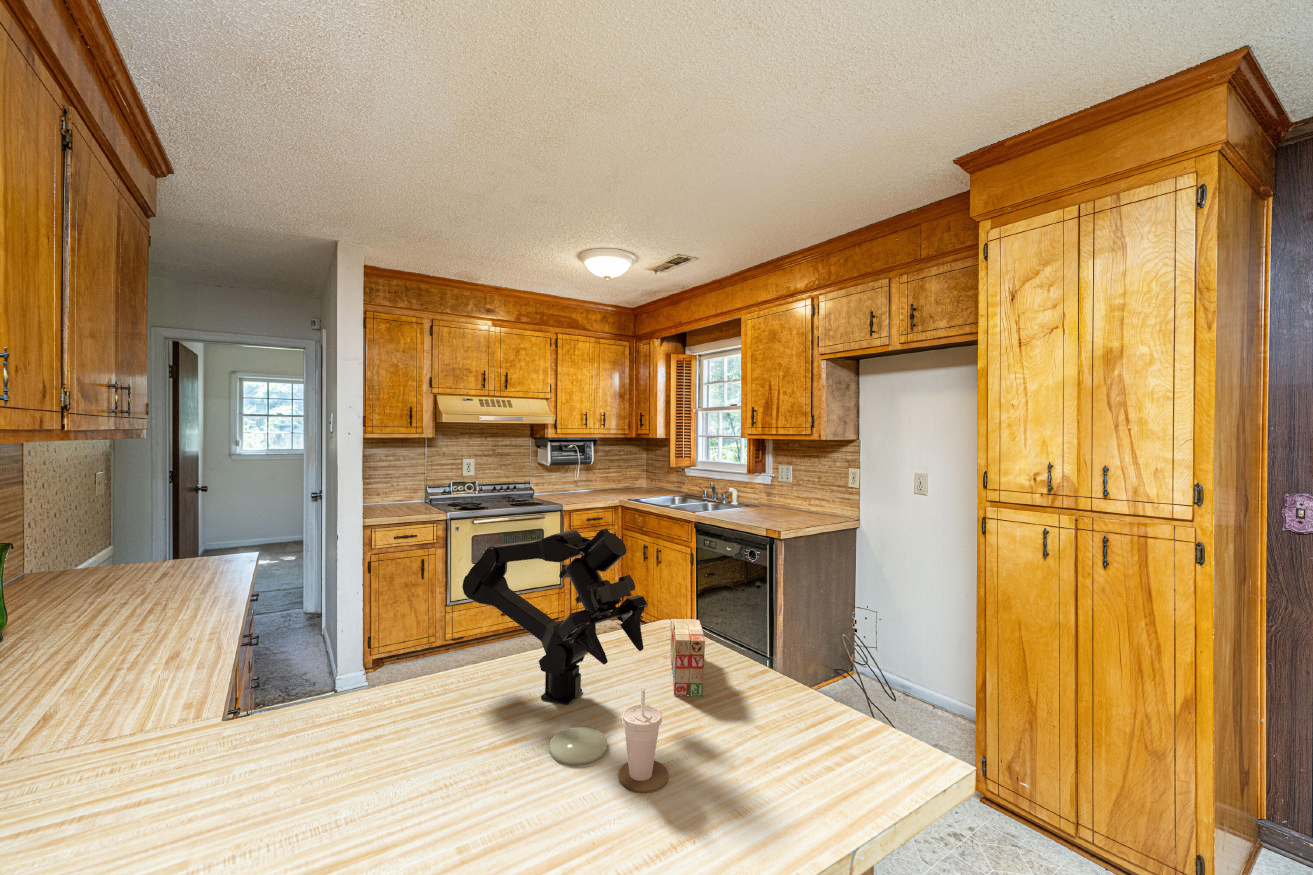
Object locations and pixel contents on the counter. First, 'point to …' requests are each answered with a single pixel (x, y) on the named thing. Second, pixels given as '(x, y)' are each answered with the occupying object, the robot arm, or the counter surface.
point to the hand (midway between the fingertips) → (624, 656)
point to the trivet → (646, 786)
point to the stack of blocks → (687, 657)
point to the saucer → (578, 746)
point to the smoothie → (641, 738)
